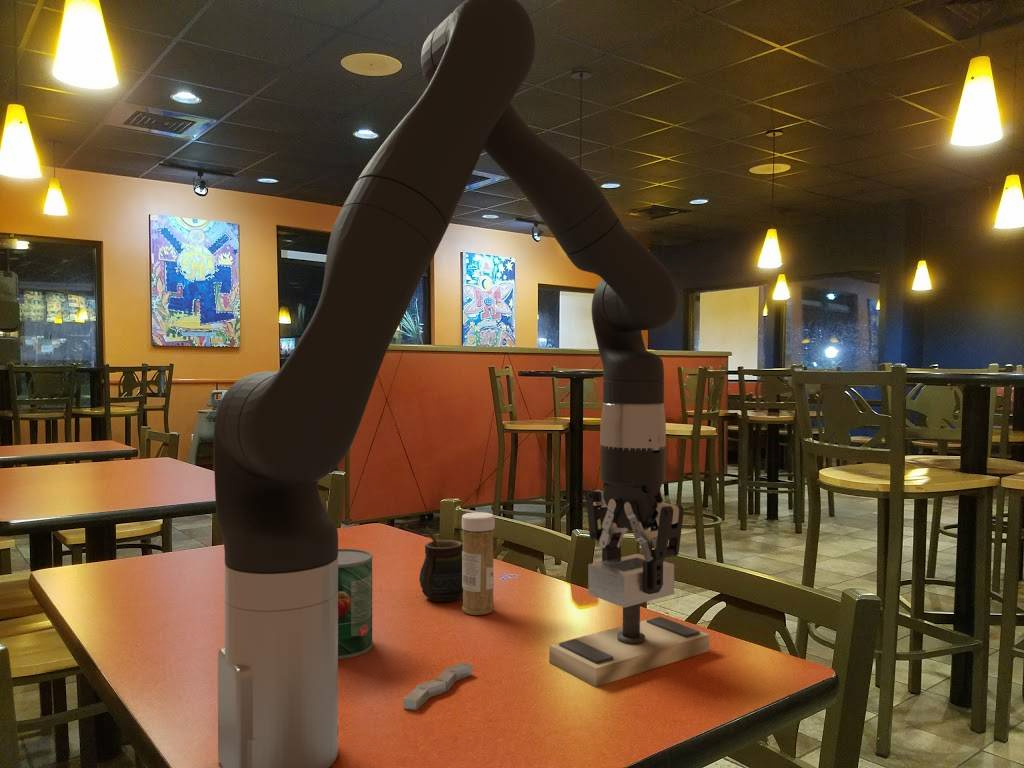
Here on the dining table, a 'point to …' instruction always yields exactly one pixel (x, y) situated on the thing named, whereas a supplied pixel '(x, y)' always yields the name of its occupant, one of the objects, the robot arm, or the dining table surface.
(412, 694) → the slack chain
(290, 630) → the robot arm
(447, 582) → the mate gourd
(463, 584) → the spice jar
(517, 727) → the dining table surface
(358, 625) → the canned tomato
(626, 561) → the link
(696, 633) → the beige holder base
